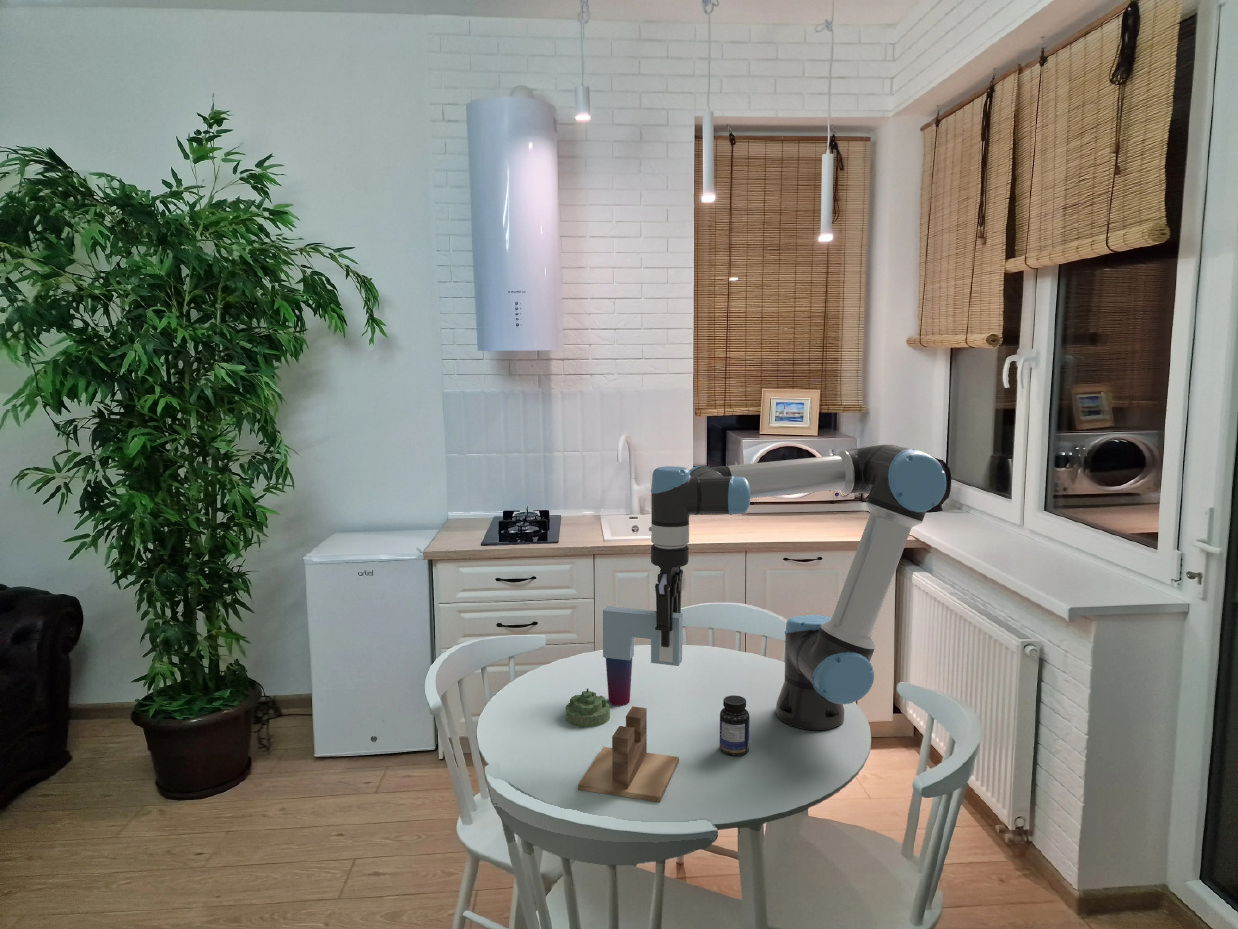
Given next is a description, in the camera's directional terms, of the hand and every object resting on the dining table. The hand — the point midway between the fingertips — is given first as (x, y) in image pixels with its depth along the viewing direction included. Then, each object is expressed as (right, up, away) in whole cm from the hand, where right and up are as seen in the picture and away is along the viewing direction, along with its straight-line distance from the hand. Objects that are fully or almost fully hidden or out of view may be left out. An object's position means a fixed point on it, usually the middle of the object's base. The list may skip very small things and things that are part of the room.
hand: (668, 657), depth 169 cm
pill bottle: (+14, -20, +5) cm, 25 cm away
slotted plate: (-5, -1, +2) cm, 6 cm away
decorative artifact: (-17, -19, +20) cm, 33 cm away
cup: (-10, -17, +29) cm, 35 cm away
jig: (-8, -22, -6) cm, 24 cm away
